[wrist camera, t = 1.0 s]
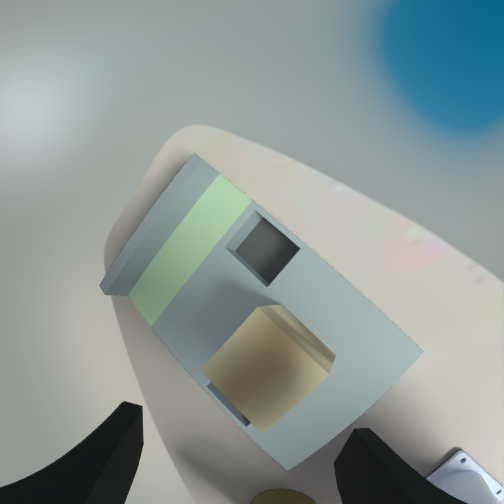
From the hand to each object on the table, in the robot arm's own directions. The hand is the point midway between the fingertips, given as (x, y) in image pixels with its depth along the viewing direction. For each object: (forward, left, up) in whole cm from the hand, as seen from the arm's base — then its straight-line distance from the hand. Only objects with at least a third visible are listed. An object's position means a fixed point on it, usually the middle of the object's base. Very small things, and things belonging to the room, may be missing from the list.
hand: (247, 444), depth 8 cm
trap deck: (+4, 0, -11) cm, 12 cm away
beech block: (+2, 0, -9) cm, 10 cm away
